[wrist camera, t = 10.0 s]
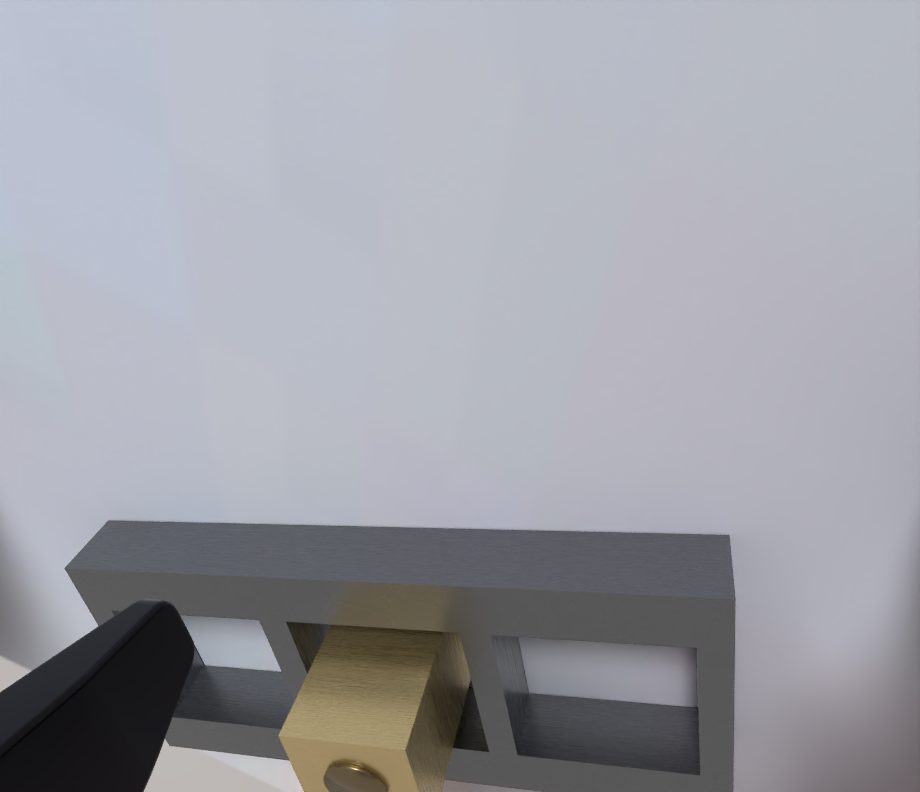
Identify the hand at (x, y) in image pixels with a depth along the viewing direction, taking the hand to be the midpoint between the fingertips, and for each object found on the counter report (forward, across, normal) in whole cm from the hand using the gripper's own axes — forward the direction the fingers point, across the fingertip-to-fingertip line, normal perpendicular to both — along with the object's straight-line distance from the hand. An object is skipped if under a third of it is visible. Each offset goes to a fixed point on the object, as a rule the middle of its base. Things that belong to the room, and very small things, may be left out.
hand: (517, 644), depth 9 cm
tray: (+12, +8, +14) cm, 20 cm away
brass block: (+12, +8, +14) cm, 20 cm away
